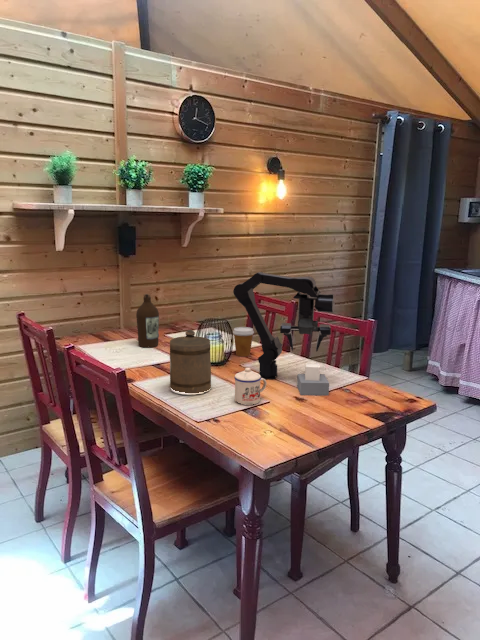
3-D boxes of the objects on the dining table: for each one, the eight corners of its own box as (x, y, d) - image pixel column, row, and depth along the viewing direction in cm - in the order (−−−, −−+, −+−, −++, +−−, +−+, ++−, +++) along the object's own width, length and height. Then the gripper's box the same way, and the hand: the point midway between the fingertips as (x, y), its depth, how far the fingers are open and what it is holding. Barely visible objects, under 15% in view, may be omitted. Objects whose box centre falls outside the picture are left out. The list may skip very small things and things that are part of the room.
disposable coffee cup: (257, 354, 227) (257, 328, 225) (246, 359, 219) (246, 332, 217) (239, 350, 232) (240, 325, 230) (228, 355, 224) (228, 329, 222)
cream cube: (305, 380, 178) (305, 366, 177) (304, 375, 183) (305, 362, 182) (319, 380, 178) (319, 367, 177) (318, 376, 183) (319, 363, 182)
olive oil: (133, 345, 240) (131, 294, 235) (151, 341, 247) (150, 291, 242) (145, 349, 233) (143, 296, 227) (164, 345, 240) (162, 294, 235)
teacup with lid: (242, 407, 165) (242, 374, 162) (229, 398, 172) (229, 366, 170) (272, 401, 170) (273, 368, 168) (258, 393, 178) (259, 361, 176)
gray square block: (300, 396, 177) (300, 382, 176) (297, 386, 186) (297, 373, 185) (328, 396, 177) (329, 383, 176) (323, 386, 187) (324, 374, 185)
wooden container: (188, 379, 192) (188, 324, 187) (219, 387, 184) (219, 329, 179) (161, 390, 180) (160, 331, 175) (192, 399, 172) (192, 337, 167)
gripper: (280, 314, 179) (279, 355, 182) (332, 315, 177) (330, 357, 180) (281, 308, 190) (280, 347, 193) (330, 309, 188) (328, 349, 191)
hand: (304, 350), depth 189 cm, fingers open, 9 cm apart
